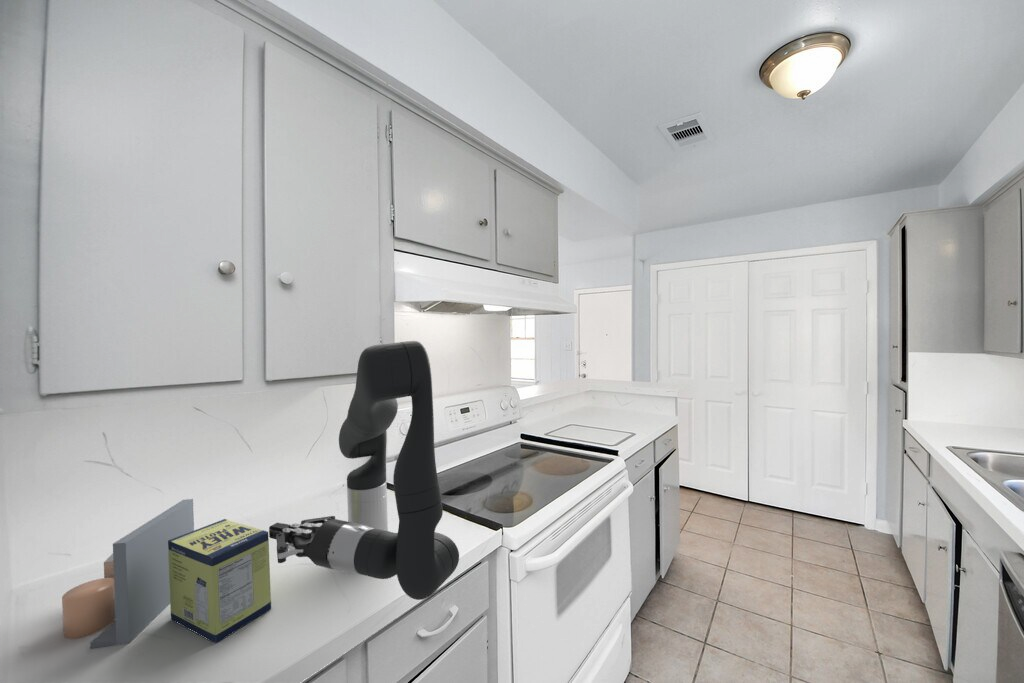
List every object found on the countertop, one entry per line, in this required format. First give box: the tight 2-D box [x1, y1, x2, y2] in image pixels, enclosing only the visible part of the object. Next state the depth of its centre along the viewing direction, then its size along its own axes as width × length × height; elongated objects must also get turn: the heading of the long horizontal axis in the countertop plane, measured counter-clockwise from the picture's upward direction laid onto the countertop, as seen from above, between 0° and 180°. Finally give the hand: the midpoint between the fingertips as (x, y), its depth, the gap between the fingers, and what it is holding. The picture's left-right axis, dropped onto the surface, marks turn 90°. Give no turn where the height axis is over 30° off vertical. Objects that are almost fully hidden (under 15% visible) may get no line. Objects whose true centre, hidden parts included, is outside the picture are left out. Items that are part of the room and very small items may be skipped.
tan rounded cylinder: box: [61, 577, 116, 640], centre depth 78 cm, size 7×7×7 cm
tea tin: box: [103, 553, 114, 579], centre depth 87 cm, size 5×5×9 cm
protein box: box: [168, 518, 272, 644], centre depth 80 cm, size 10×16×16 cm
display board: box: [89, 498, 195, 649], centre depth 82 cm, size 20×6×18 cm, turn 10°
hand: (272, 529), depth 77 cm, fingers closed
